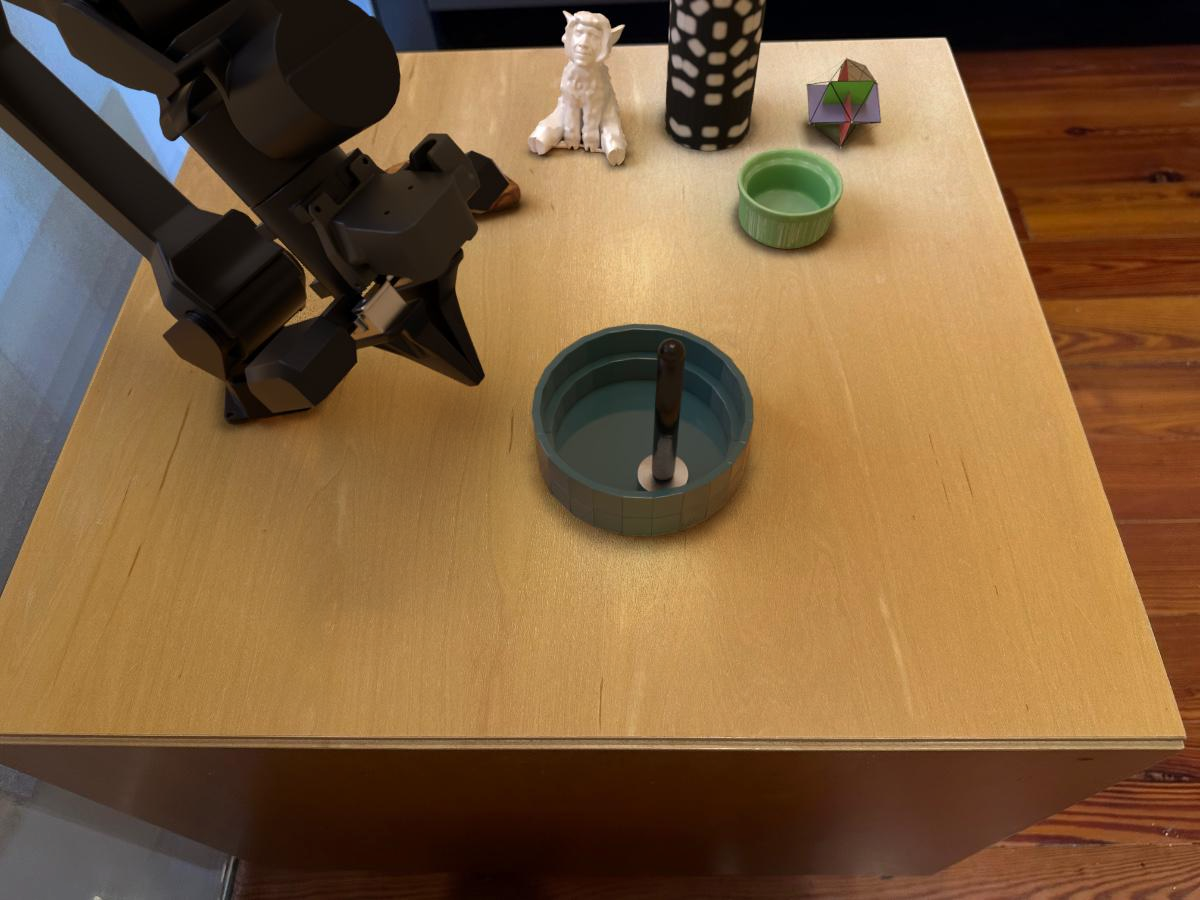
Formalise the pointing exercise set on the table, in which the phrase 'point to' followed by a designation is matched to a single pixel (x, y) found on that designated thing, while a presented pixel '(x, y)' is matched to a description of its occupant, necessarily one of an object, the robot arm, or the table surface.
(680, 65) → the spotted tube
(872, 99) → the geometric puzzle
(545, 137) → the sitting furry creature
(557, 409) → the bowl
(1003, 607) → the table surface
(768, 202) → the ramekin
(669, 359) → the upright rod on disc
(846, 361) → the table surface
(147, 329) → the table surface
